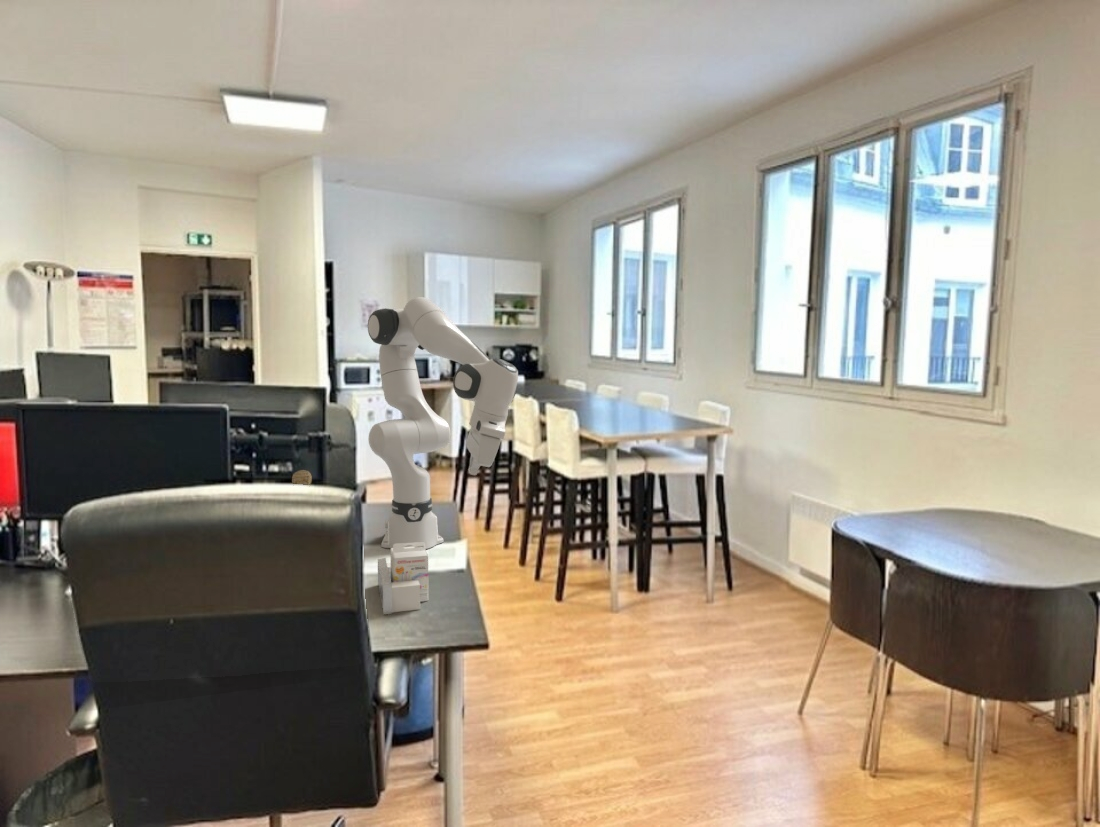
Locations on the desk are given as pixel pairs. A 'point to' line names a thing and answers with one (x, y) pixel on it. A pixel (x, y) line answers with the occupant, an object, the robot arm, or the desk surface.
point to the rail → (385, 586)
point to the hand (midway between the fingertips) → (472, 473)
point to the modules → (405, 594)
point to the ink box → (411, 565)
